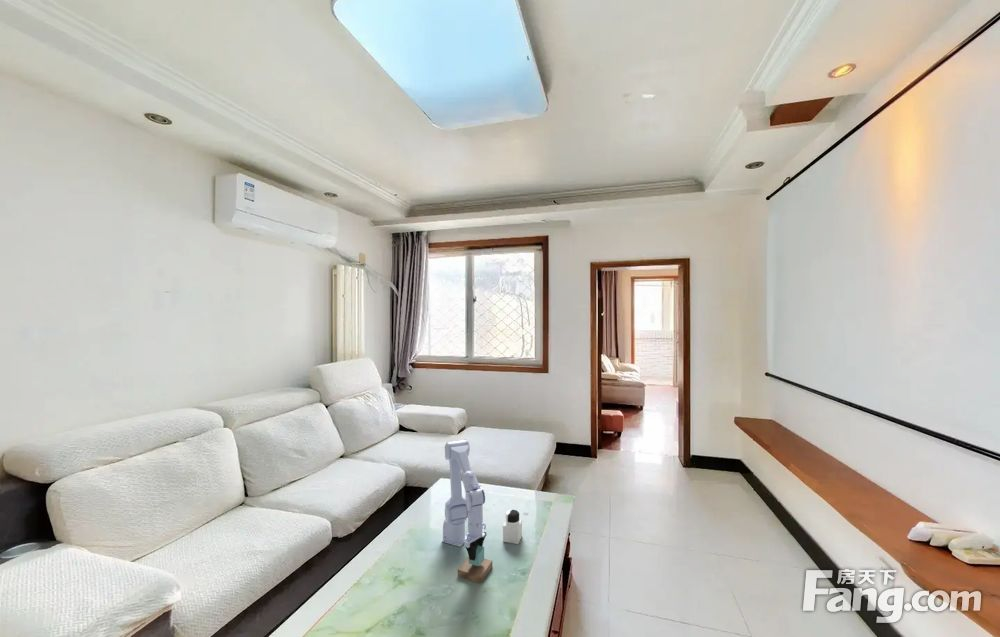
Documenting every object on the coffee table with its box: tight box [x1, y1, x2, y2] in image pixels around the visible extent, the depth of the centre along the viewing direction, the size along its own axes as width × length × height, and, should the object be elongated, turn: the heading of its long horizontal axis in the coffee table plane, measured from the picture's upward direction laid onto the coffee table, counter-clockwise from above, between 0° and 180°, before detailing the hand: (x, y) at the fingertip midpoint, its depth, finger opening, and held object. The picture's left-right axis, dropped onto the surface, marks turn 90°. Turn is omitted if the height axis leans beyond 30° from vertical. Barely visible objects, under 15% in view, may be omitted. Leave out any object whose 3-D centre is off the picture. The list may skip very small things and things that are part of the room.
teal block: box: [469, 545, 485, 566], centre depth 148 cm, size 4×4×5 cm
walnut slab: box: [457, 555, 493, 584], centre depth 148 cm, size 10×10×3 cm
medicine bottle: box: [502, 509, 523, 545], centre depth 170 cm, size 7×7×12 cm
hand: (475, 555), depth 148 cm, fingers closed on teal block, 4 cm apart
